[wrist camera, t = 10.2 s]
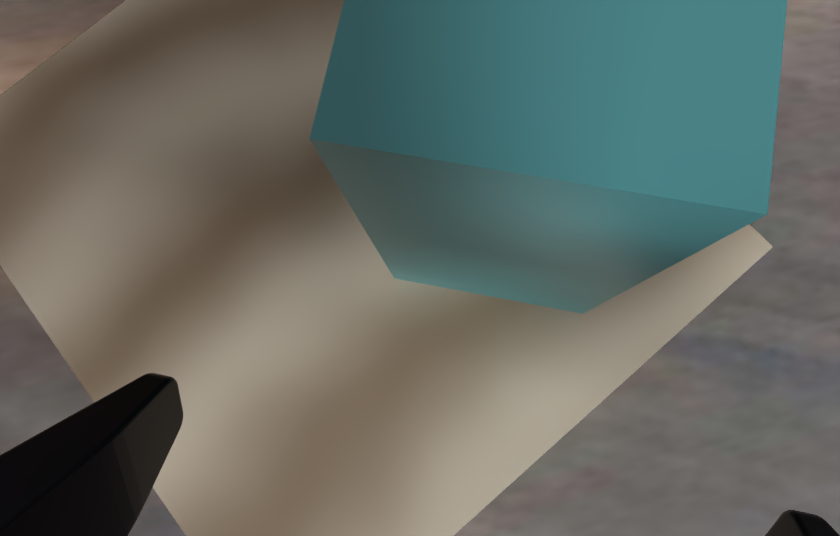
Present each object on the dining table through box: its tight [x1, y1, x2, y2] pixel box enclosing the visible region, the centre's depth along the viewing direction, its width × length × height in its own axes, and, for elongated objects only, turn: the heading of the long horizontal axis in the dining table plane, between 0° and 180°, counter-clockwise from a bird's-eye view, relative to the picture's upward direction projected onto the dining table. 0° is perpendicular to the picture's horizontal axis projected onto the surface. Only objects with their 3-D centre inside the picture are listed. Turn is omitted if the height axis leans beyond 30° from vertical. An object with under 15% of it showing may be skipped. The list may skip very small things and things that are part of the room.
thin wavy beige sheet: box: [0, 0, 772, 536], centre depth 18 cm, size 20×18×1 cm
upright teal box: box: [309, 0, 787, 314], centre depth 12 cm, size 6×6×10 cm
